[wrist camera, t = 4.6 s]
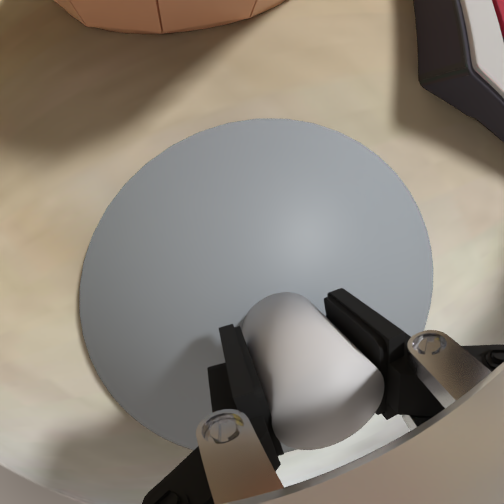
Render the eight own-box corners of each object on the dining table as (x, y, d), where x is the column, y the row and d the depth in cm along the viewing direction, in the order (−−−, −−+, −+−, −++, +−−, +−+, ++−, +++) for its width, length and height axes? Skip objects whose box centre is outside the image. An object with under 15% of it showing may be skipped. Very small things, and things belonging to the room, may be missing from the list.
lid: (396, 103, 11) (491, 76, 6) (420, 380, 15) (476, 431, 10) (36, 194, 9) (-62, 206, 4) (172, 469, 13) (175, 549, 8)
